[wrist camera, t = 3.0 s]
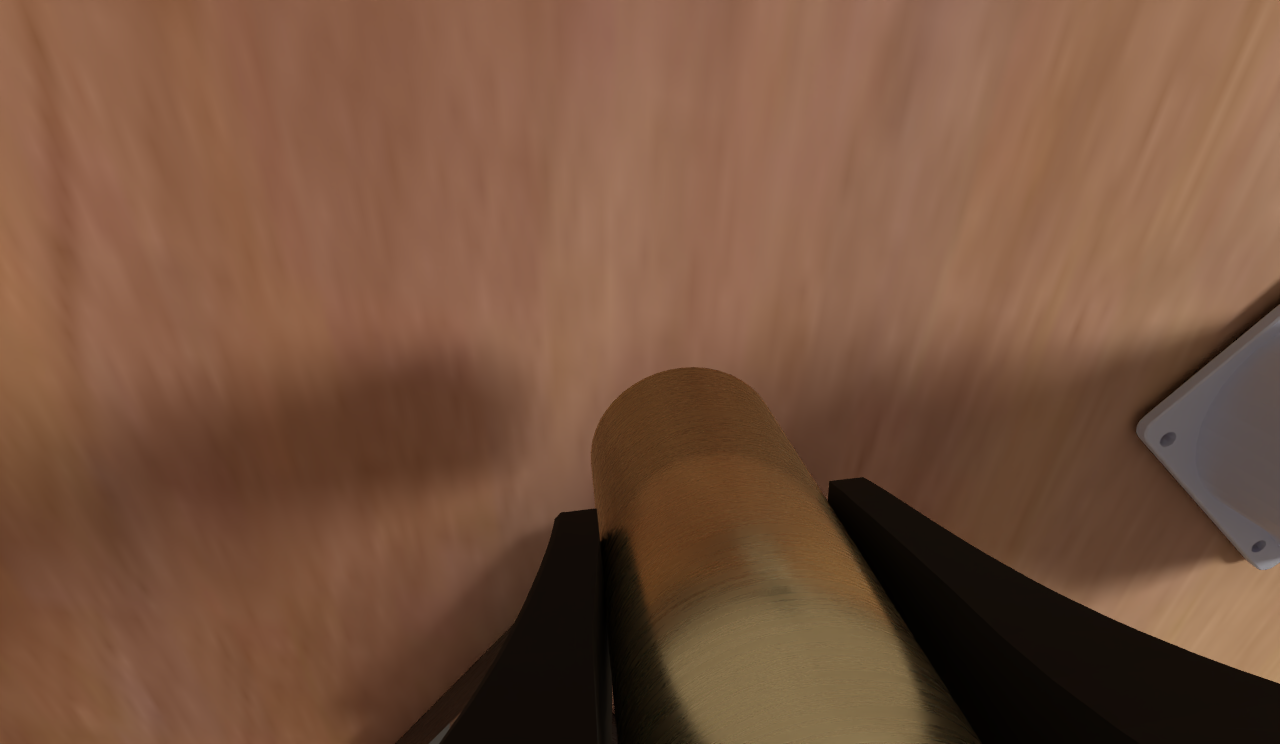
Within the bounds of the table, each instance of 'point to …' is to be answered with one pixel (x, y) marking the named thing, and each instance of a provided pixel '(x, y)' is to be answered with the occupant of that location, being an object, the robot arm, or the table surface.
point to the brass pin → (743, 585)
